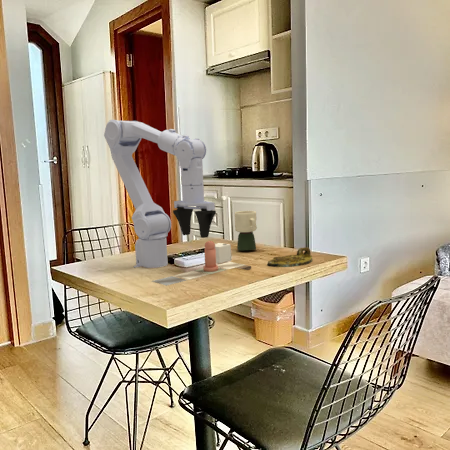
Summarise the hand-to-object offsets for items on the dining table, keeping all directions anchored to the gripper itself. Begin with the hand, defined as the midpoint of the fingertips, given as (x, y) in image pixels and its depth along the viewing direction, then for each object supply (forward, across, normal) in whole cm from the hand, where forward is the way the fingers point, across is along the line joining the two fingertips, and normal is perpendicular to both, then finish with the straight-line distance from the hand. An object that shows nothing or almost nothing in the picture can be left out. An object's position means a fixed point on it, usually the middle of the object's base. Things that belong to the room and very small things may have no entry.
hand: (195, 236), depth 128 cm
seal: (+11, +12, +26) cm, 30 cm away
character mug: (+11, -11, +31) cm, 35 cm away
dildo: (+9, +3, +2) cm, 10 cm away
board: (+10, +3, -1) cm, 11 cm away
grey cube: (+10, -7, +15) cm, 20 cm away
